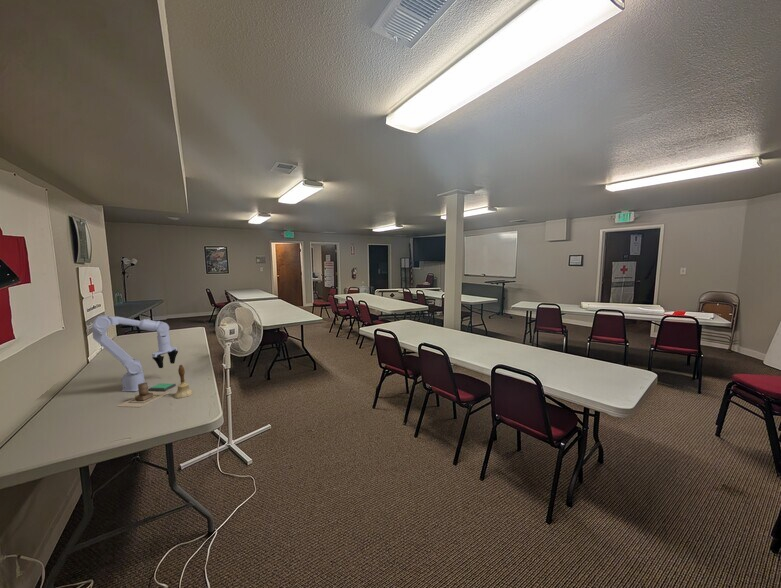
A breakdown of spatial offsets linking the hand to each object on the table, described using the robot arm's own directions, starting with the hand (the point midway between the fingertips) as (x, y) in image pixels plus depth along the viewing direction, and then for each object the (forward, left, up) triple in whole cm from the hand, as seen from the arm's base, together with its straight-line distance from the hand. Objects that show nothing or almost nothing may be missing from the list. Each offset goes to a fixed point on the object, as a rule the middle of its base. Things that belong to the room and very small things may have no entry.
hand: (166, 365), depth 172 cm
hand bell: (+26, -17, -10) cm, 33 cm away
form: (+9, -23, -9) cm, 26 cm away
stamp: (+9, -23, -9) cm, 26 cm away
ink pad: (+6, -10, -9) cm, 15 cm away
